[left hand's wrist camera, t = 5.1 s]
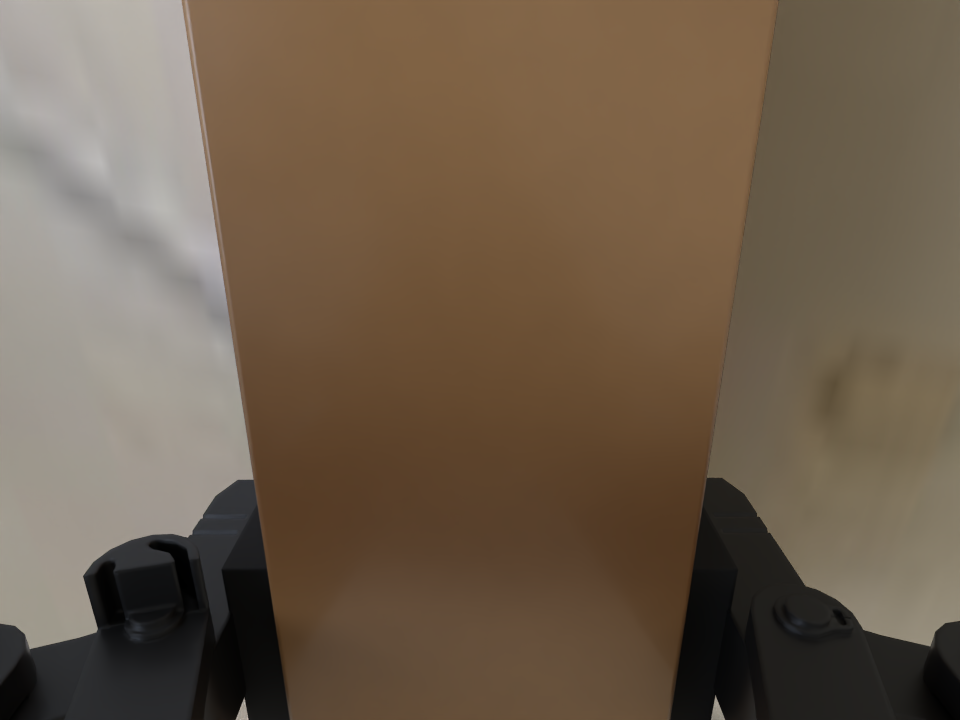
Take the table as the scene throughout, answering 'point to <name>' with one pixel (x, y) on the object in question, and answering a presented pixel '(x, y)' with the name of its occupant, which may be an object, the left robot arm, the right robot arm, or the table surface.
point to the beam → (480, 333)
